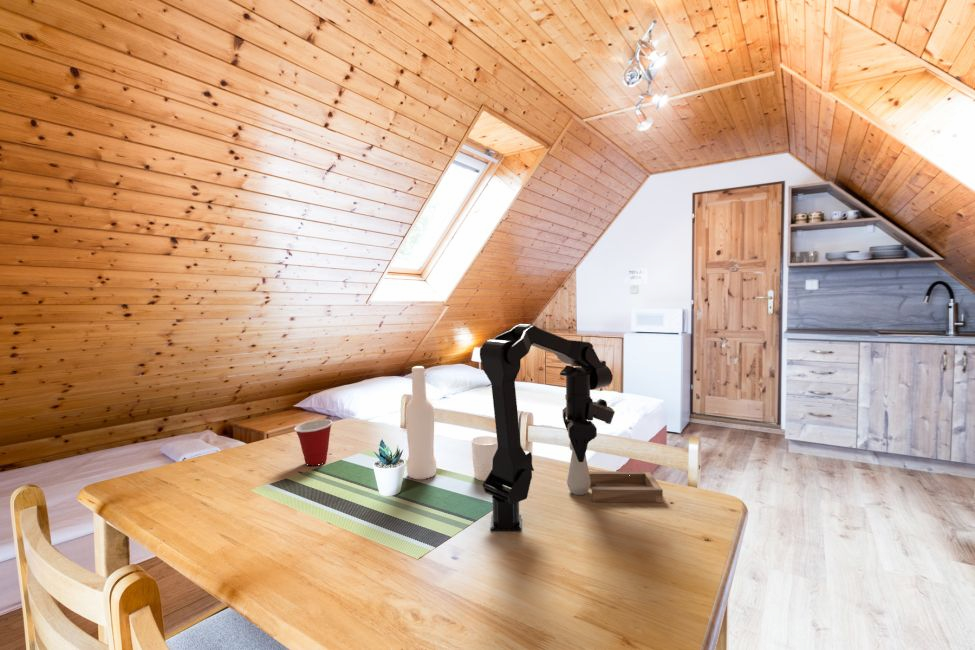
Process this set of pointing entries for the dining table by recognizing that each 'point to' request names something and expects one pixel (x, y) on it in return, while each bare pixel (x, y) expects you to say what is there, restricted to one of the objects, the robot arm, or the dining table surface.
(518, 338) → the robot arm
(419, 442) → the bottle
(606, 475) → the rest
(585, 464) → the salt shaker
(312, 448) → the plastic cup
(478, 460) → the white cup
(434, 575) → the dining table surface
